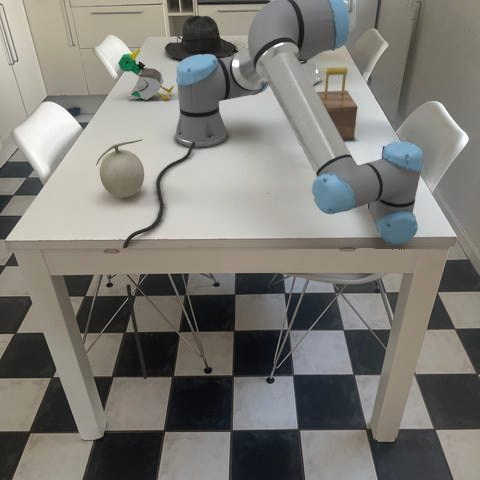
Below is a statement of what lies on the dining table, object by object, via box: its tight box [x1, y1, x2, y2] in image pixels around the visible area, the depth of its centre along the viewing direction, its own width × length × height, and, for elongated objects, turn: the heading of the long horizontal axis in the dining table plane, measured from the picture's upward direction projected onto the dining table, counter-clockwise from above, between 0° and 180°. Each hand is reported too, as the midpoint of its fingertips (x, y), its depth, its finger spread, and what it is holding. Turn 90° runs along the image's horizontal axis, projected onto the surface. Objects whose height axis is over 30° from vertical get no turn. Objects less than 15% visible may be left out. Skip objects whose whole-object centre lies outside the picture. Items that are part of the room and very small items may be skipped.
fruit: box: [95, 139, 145, 199], centre depth 124 cm, size 10×12×15 cm
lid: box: [316, 66, 358, 112], centre depth 150 cm, size 14×9×9 cm
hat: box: [164, 15, 237, 60], centre depth 230 cm, size 32×35×14 cm
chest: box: [328, 109, 358, 142], centre depth 155 cm, size 13×9×9 cm
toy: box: [117, 47, 175, 101], centre depth 181 cm, size 6×17×20 cm
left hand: (357, 152), depth 131 cm, fingers open, 13 cm apart
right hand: (338, 40), depth 145 cm, fingers open, 8 cm apart
